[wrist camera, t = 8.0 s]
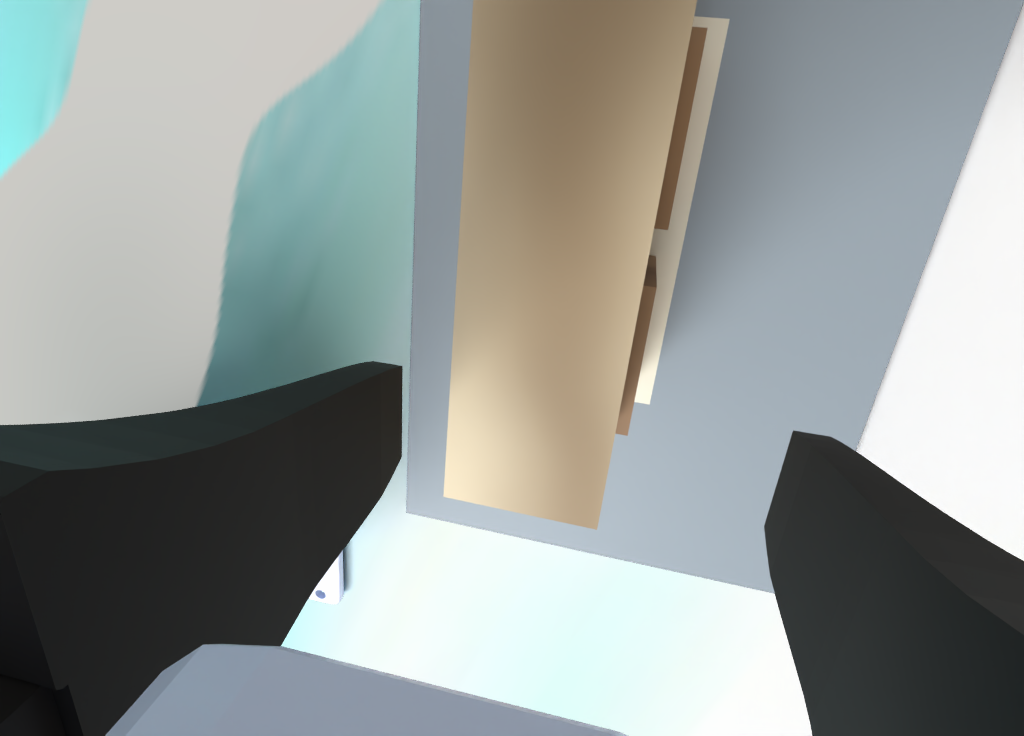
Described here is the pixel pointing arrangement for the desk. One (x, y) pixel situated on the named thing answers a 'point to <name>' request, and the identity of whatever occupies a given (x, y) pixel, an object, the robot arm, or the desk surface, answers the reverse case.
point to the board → (736, 260)
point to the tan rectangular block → (555, 241)
